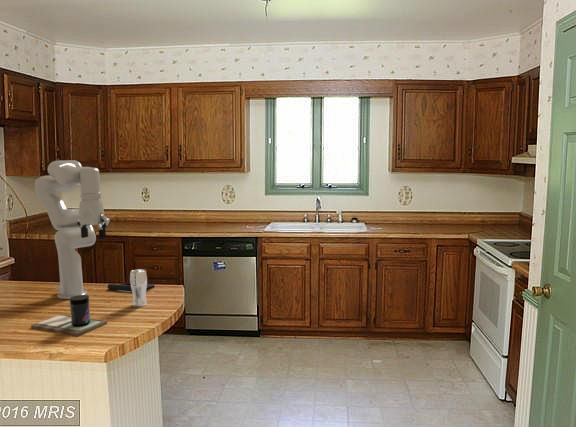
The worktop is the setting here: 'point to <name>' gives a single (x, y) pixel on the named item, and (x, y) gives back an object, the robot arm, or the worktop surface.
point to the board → (67, 325)
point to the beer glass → (138, 287)
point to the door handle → (126, 287)
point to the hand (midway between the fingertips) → (93, 238)
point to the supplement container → (80, 310)
